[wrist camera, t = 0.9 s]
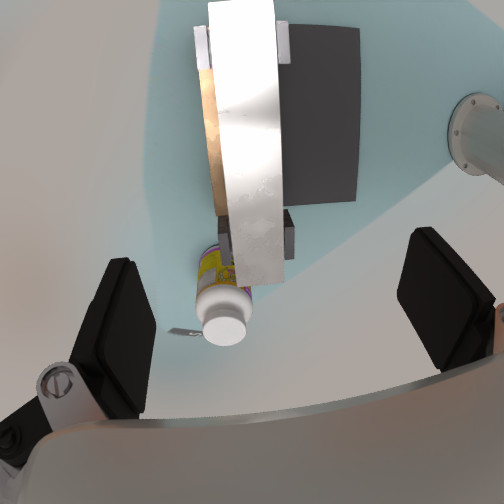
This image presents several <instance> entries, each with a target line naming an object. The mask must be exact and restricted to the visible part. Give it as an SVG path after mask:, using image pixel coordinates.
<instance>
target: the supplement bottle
mask: <svg viewBox="0 0 504 504" xmlns="http://www.w3.org/2000/svg"><path fill="white" fill-rule="evenodd" d="M231 264H232V265H230V266H222V261H221V254H220V247H219V245H217V246H214V247H211V248H209V249H208V250H207V251H206V252H205V253H204V254H203V255H202V257H201V259H200V263H199V272H198V283H197V294H196V305H195V310H196V314H197V317H198V319H199V320H200V322H201V323H202V324H203V335H204V337H205V338H206V339H207V340H208V341H209V342H211V343H213V344H216V345H220V346H229V345H233V344H236V343H238V342H239V341H241V340H242V339H243V338H244V336H245V335H246V323H247V322H248V320H249V319H250V317H251V315H252V311H253V305H252V296H251V287H250V286H246V287H237V281H236V273H235V265H234V256H233V251H231Z"/></svg>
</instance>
